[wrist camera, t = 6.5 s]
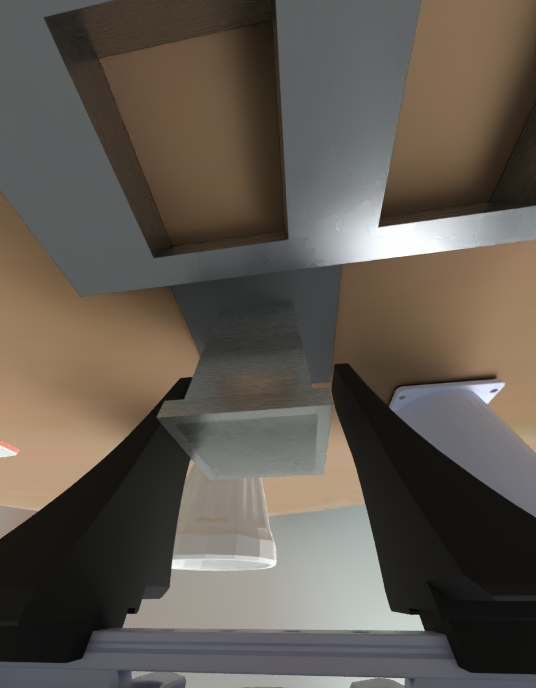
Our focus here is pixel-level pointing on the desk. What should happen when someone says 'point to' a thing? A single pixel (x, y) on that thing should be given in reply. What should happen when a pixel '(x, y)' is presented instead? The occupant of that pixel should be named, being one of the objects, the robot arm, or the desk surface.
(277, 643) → the robot arm
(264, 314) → the grey boxy piece
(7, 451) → the cell phone
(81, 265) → the grey flat block
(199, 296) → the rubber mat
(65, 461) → the desk surface
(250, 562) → the cup
